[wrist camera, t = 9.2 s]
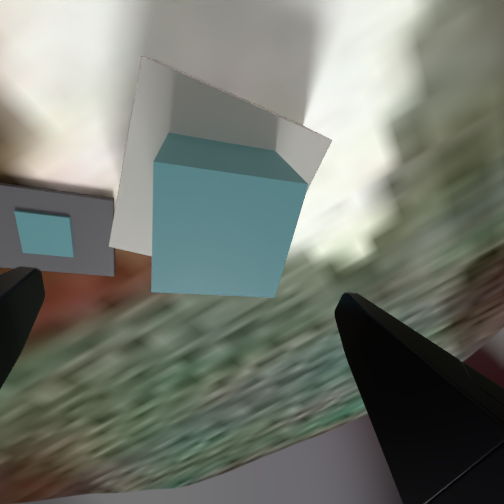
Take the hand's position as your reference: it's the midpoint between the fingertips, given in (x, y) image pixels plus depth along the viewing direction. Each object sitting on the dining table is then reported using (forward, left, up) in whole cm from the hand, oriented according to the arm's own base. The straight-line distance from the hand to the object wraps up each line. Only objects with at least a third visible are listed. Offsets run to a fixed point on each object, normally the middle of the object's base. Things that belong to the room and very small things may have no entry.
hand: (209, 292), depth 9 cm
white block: (+1, +1, -12) cm, 12 cm away
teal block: (+1, +1, -7) cm, 7 cm away
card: (-9, -5, -12) cm, 16 cm away
